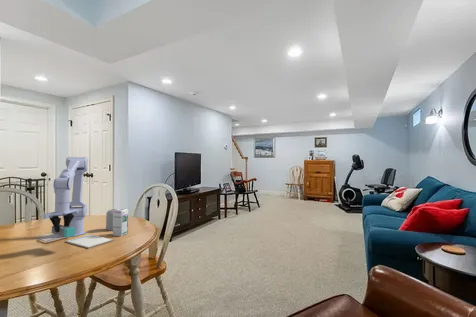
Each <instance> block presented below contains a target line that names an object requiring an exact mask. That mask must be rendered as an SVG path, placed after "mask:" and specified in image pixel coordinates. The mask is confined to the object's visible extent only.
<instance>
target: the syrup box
mask: <svg viewBox="0 0 476 317" xmlns="http://www.w3.org/2000/svg"><path fill="white" fill-rule="evenodd" d="M116 209H117V208H116ZM128 234H129V209H128V208H118V209H117V210H113V231H112V236H114V237H122V236H125V235H128Z"/></svg>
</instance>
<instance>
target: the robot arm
mask: <svg viewBox="0 0 476 317" xmlns="http://www.w3.org/2000/svg"><path fill="white" fill-rule="evenodd" d="M65 159H66V160H65V166H66V168H65V169H63V170H62V171H61V173H60V175H58V177H56V178H54V180H53V183H52V184H53V185H52V186H53V190H54V191H53V193H54V195H55V196H54V202H55V203H54V211H53V212H48V213H44V214H43V219H45V220H47V219H49V220H50V221H51V223H52V226H54V229H55V232H59V227H60V225H61V220H62V218H63V226H67V227H74V228H75V236H71V238H72V237H76V236H80V235H85V234H87V231H84V218H86V217H87V214H88V208H87V207H88V206H87V204H86V202H84V201H83V200H82V199H83V198H82V196H83V185H84V174H85V173H86V172H88V169H89V159H88V157H87V156H85V157H84V156H67V157H66V158H65ZM71 190H72V192H71ZM70 194H71V195H72V196H71V195H70ZM70 197H71V199H70ZM70 200H71V201H70ZM61 216H62V218H61Z"/></svg>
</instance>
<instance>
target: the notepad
mask: <svg viewBox="0 0 476 317" xmlns="http://www.w3.org/2000/svg"><path fill="white" fill-rule="evenodd" d="M114 241H115V239H112V238H107V237H103V236H99V235H95V234H88V235H84V236H81V237H76V238H72V239H69V240H65V241H64V243H65V244H69V245H73V246H76V247H80V248H84V249H87V250H88V249H92V248H95V247H99V246H102V245H106V244H108V243H112V242H114Z"/></svg>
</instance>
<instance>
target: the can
mask: <svg viewBox="0 0 476 317" xmlns="http://www.w3.org/2000/svg"><path fill="white" fill-rule="evenodd" d="M113 210H117V208H114V209H108V210H107V211H106V217H105V219H106V220H105V229H106V231H108V232H109V231H111V232H113Z"/></svg>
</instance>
